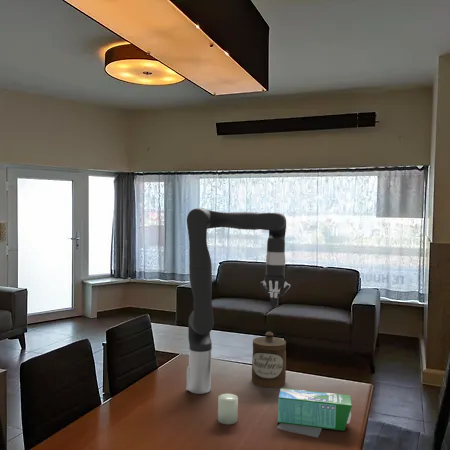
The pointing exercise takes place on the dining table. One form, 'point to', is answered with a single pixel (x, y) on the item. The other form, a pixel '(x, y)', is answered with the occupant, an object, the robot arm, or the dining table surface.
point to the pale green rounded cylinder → (227, 408)
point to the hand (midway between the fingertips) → (274, 306)
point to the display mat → (300, 429)
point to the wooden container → (269, 361)
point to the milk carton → (314, 409)
